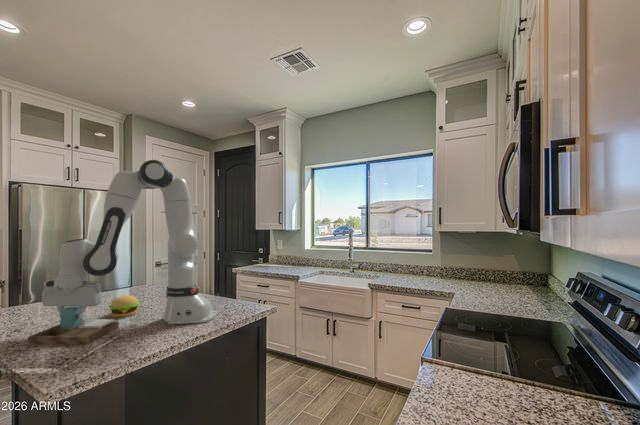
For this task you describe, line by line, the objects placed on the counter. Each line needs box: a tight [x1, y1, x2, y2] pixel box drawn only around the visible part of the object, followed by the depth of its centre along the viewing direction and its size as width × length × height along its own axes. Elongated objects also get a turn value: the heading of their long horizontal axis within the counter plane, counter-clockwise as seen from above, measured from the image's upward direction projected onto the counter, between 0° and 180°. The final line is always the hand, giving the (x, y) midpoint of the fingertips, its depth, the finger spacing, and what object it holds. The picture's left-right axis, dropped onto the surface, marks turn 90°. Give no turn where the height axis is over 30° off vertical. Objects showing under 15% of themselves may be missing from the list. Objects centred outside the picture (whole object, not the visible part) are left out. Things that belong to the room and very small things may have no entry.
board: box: [27, 320, 120, 346], centre depth 107 cm, size 20×16×4 cm
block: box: [59, 306, 83, 328], centre depth 110 cm, size 4×4×7 cm
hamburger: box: [108, 294, 141, 318], centre depth 135 cm, size 12×12×9 cm
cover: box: [78, 314, 115, 328], centre depth 111 cm, size 8×8×3 cm
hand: (71, 317), depth 110 cm, fingers closed on block, 4 cm apart
